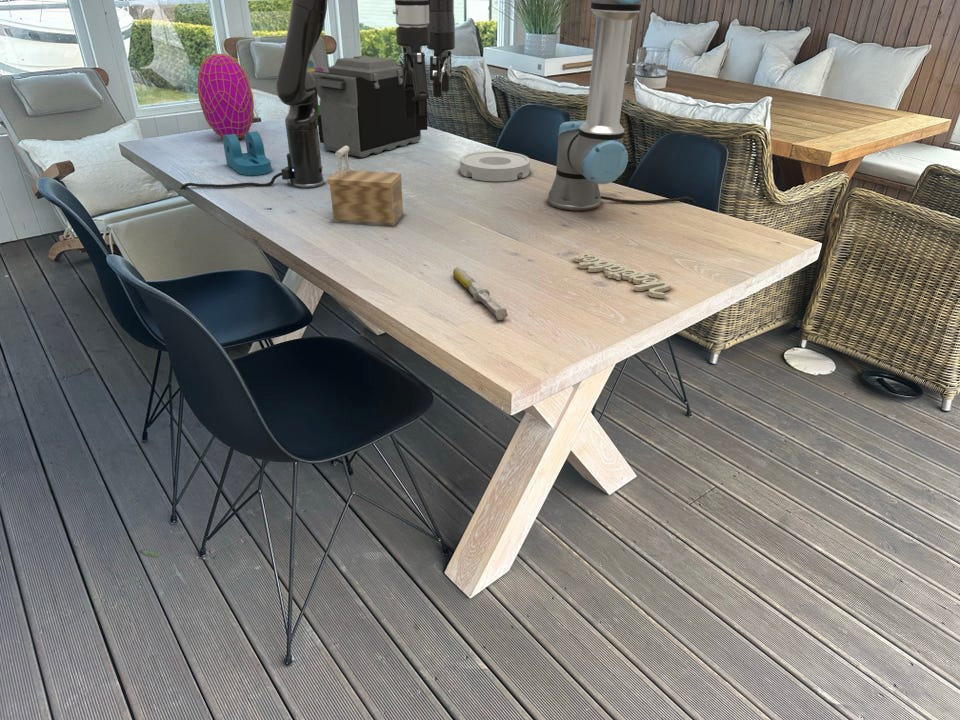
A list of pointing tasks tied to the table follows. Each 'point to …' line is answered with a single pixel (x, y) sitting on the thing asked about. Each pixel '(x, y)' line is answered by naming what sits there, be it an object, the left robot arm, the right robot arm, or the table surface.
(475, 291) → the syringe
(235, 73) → the decorative egg
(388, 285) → the table surface
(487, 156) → the ashtray
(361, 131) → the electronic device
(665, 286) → the decorative sign
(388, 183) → the lid
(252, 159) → the camera mount
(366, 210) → the chest
